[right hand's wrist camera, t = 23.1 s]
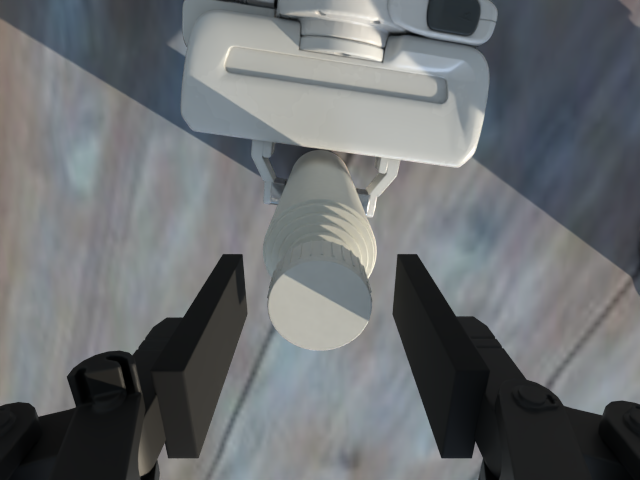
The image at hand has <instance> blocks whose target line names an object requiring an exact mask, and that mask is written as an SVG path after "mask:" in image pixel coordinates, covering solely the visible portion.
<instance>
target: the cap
mask: <svg viewBox="0 0 640 480" xmlns="http://www.w3.org/2000/svg"><path fill="white" fill-rule="evenodd" d="M269 288H270V289H269V292H268V296H267V298H268V313H269V317H270V320H271V322H272V324H273V326H274V327H275V329H276V330H277V331H278V333H279V334H280V335H281V336H282V337H283V338H285V339H286V340H287V341H289V342H290V343H292V344H294V345H296V346H299V347H301V348H305V349H310V350H330V349H334V348H338V347H341V346H343V345H345V344H347V343H349V342H351V341H352V340H353V339H355V338H356V337H357V336H358V335H359V334H360V333H361V332H362V331H363V330H364V328H365V326H366V325H367V323H368V321H369V318H370V315H371V309H372V298H371V295H370V293H371V288H370V285H369V281H368V277H367V274H366V272H365V268H364V265H362V264H361V263H360V260H359V258H358V257H356V256H355V255H354V254H353V253H352V251H351V250H348V249H347V248H345V247H344V246H343V245H339V244H336V243H334V242H333V241H332V242H329V241H323V240H321V241H310V242H306V243H303V244H302V243H300V245H298V246H296V247H294V248H291V250H290V251H289V252H287V253H286V254H284V255H283V257H282V259H281V260H280V262H277V265H276V269H275V270H274V271H273V275H272V279H271V282H270V286H269Z"/></svg>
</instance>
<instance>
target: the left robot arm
mask: <svg viewBox="0 0 640 480" xmlns="http://www.w3.org/2000/svg"><path fill="white" fill-rule="evenodd" d="M232 2H234V3H232ZM238 3H240V4H238ZM276 9H277V12H276ZM497 15H498V12H497V8H496V6H495V5H494V4H493V3H492V2H491V1H489V0H184V3H183V9H182V33H183V39H184V42H185V45H186V47H187V51H186V57H185V63H184V71H183V79H182V90H181V115H182V117H183V119H184V120H185V121H186V123H187V124H188V126H189V127H190V128H191V130H193V131H195V132H202V133H209V134H217V135H224V136H231V137H238V138H246V139H252V149H251V157H252V159H253V161H254V163H255V165H256V167H257V169H258V171H259V173H260V175H261V177H262V179H263V181H265V186H264V199H263V202H264V203H265V204H273V205H278V203H279V201H280V198H281V196H282V193H283V191H284V188H285V186H286V181H287V179H282V178H276V175H275V173H274V170H273V168H272V166H271V163H270V161H269V159H268V158H270V157H271V156H272V154H273V153H274V149H275V143H282V144H289V145H296V146H303V147H311V148H318V149H325V150H332V151H339V152H347V153H354V154H361V155H368V156H376V161H375V168H376V169H377V170H378V171H379V173H378V175H377V176H376V177H375V178H374V179H373V181H372V182H371V183H370V184H369V186H368V187H367V188H366V190H365V189H356V192H357V194H358V197H359V199H360V202H361V204H362V207H363V209H364V212H365V214H366V216H367V217H373V215H374V210H375V205H376V200H377V196H380V194H381V193H382V192H383V191H384V190H385V189H386V188H387V187H388V185H389V184H390V183H391V182H392V181H393V180H394V179H395V177H396V176H397V173H398V169H399V164H400V160H405V161H412V162H419V163H426V164H433V165H441V166H448V167H455V168H457V167H460V166H462V165H463V164H464V163H465V162H466V161H468V160H469V159H470V158H471V157H472V156H473V155H474V153H475V150H476V148H477V144H478V141H479V137H480V133H481V129H482V125H483V120H484V115H485V110H486V104H487V98H488V91H489V81H490V75H489V67H488V63H487V61H486V59H485V57H484V56H483V54H482V53H481V52H480V51H479V50H477V49H476V48H475V47H477V46H480V45H481V44H483V43H485V42H486V41H488V40H489V39H490V37H491V36H492V34H493V31H494V28H495V25H496V21H497ZM276 17H277V18H276Z"/></svg>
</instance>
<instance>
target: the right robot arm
mask: <svg viewBox="0 0 640 480" xmlns="http://www.w3.org/2000/svg"><path fill="white" fill-rule="evenodd" d="M246 317H247V303H246V291H245V279H244V267H243V255H242V254H223V255H222V257H221V258H220V260H219V262H218V263H217V265H216V266H215V268H214V270H213V271H212V273H211V274H210V276H209V277H208V279H207V281H206V282H205V284H204V285H203V287H202V289H201V290H200V292H199V293H198V295H197V297H196V298H195V300H194V301H193V303H192V305H191V306H190V308H189V309H188V311H187V312H186V314H185V316H184V317H183V318H166V319H164V320H163V321H161V322H160V323H159V324H157V325H156V326H154V327H153V328H152V330H151V331H150V332H149V334H148V335H147V336H146V338H145V340H144V341H143V342H142V343H141V345H140V346H139V349H138V350H136V351H135V353H134V354H133V356H132V355H131V354H130V353H128V352H123V351H109V352H105V353H101V354H98V355H95V356H92V357H90V358H88V359H86V360H84V361H82V362H81V363H80V364H78V365H77V366H76V367H74V368H73V369H72V371H71V372H70V373H69V375H68V376H67V379H68V382H69V385H70V388H71V392H72V395H73V398H74V401H75V404H76V408H73V409H70V410H66V411H61V412H57V413H53V414H49V415H44V416H40V417H38V415H37V413H36V410H35V408H34V407H33V406H32V405H30V404H29V403H22V402H17V403H11V404H5V405H2V406H0V480H159V475H160V472H159V465H158V461H157V458H158V456H159V454H160V452H161V450H162V447H163V445H164V443H165V445H166V450H167V455H168V458H199V455H200V452H201V449H202V446H203V443H204V440H205V438H206V435H207V432H208V429H209V426H210V423H211V420H212V417H213V414H214V411H215V408H216V405H217V402H218V399H219V396H220V393H221V390H222V387H223V384H224V382H225V379H226V376H227V373H228V370H229V367H230V364H231V361H232V358H233V355H234V352H235V349H236V346H237V343H238V340H239V337H240V334H241V331H242V329H243V326H244V323H245V320H246ZM393 317H394V320H395V323H396V326H397V329H398V331H399V334H400V337H401V340H402V343H403V346H404V349H405V352H406V355H407V358H408V361H409V364H410V367H411V370H412V373H413V376H414V379H415V382H416V385H417V387H418V390H419V393H420V396H421V399H422V402H423V405H424V408H425V411H426V414H427V417H428V420H429V423H430V426H431V429H432V432H433V435H434V438H435V440H436V443H437V446H438V449H439V452H440V455H441V458H472V455H473V450H474V445H475V441H476V443H477V446H478V448H479V450H480V452H481V454H482V457H483V461H482V465H481V469H480V474H479V478H478V480H640V404H637V403H633V402H627V401H614V402H611V403H609V404H608V405H607V406H606V407H605V410H604V413H603V415H598V414H594V413H589V412H585V411H581V410H577V409H572V408H569V407H566V406H563V404H562V403H561V401H560V399H559V398H558V397H557V396H556V395H555V394H554V393H552V392H551V391H550V390H549V389H547V388H545V387H543V386H542V385H540V384H538V383H535V382H532V381H529V380H526V378H525V377H524V376H523V374H522V373H521V372H520V370H519V369H518V367H517V366H516V365H515V363H514V362H513V361H512V359H511V358H510V357H509V355H508V354H507V353H506V351H505V350H504V349H503V348H502V346H501V344H500V343H499V342H498V340H497V339H495V336H494V335H493V334H492V332H491V331H490V330H489V328H488V327H487V326H486V325H485V324H483V323H482V322H480V321H479V320H478V319H476V318H475V317H456V316H455V314H454V312H453V311H452V309H451V308H450V306H449V305H448V303H447V301H446V300H445V298H444V297H443V295H442V293H441V292H440V290H439V289H438V287H437V285H436V284H435V282H434V281H433V279H432V277H431V276H430V274H429V273H428V271H427V270H426V268H425V266H424V265H423V263H422V262H421V260H420V258H419V257H418V255H417V254H398V255H397V267H396V279H395V291H394V303H393Z"/></svg>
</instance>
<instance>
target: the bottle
mask: <svg viewBox="0 0 640 480" xmlns="http://www.w3.org/2000/svg"><path fill="white" fill-rule="evenodd" d="M321 240H323V241H329V242H332V241H333V242H334V243H336V244H339V245H343V246H344V247H345V248H347V249H348V250H351V251H352V253H353V254H354V255H355V256H356V257H358V258H359V260H360V263H361V264H362V265H364V268H365V272H366V274H367V277H368V278H369V276H370V274H371V272H372V270H373V268H374V265H375V260H376V252H377V251H376V242H375V237H374V234H373V231H372V229H371V226H370V224H369V221H368V219H367V216H366V214H365V212H364V209H363V207H362V204H361V202H360V199H359V197H358V194H357V192H356V189H355V187H354V184H353V182H352V179H351V177H350V174H349V172H348V169H347V167H346V165H345V163H344V162H343V160H342V159H341V158H340V157H339V156H337V155H336V154H334V153H332V152H330V151H327V150H313V151H310V152H307V153H305V154H304V155H302V156H301V157H300V158H299V159H298V160H297V161H296V163H295V164H294V166H293V168H292V171H291V173H290V176H289V178H288V181H287V183H286V186H285V188H284V191H283V193H282V196H281V198H280V201H279V203H278V206H277V208H276V211H275V213H274V215H273V218H272V220H271V223H270V225H269V228H268V230H267V233H266V235H265V239H264V244H263V257H264V263H265V266H266V269H267V271H268V273H269V275H270V277H271V278H272V275H273V271H274V270H275V269H276V265H277V262H280V260H281V259H282V257H283V255H284V254H286V253H287V252H289V251H290V250H291V248H294V247H296V246H298V245H300V243H302V244H303V243H306V242H310V241H321Z"/></svg>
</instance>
